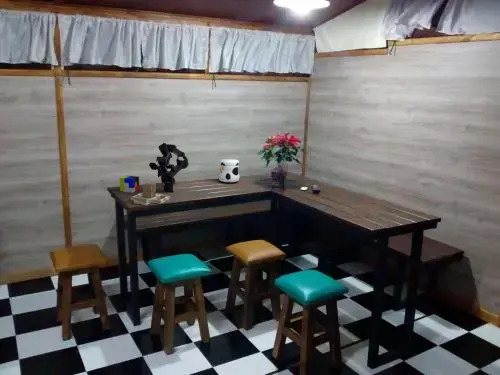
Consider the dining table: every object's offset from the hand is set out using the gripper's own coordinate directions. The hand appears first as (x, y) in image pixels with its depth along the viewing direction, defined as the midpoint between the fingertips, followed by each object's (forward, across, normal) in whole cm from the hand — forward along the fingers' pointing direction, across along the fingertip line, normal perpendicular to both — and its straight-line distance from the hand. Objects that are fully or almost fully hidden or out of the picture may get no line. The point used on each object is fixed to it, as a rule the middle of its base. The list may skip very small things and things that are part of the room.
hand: (158, 176), depth 302 cm
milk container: (-37, +28, +57) cm, 74 cm away
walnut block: (+17, 0, -1) cm, 17 cm away
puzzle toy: (+6, -26, +14) cm, 30 cm away
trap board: (+19, 0, +1) cm, 19 cm away
